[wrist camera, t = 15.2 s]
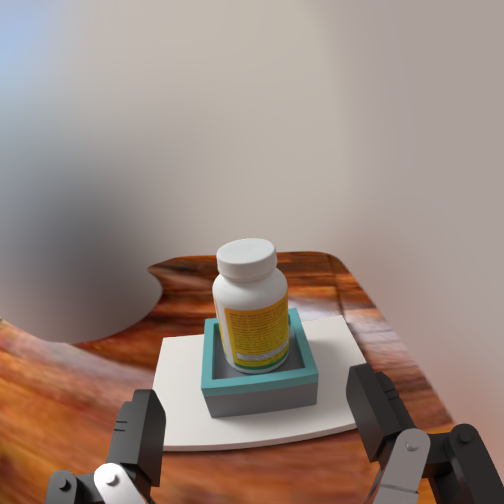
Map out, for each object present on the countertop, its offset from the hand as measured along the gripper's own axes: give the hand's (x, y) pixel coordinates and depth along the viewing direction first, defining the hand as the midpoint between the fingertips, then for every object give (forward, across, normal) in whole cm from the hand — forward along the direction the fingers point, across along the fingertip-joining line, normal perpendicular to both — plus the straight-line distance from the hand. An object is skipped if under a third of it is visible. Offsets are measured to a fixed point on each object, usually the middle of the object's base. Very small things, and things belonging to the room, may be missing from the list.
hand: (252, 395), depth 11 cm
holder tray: (+11, 0, +12) cm, 16 cm away
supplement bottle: (+11, 0, +8) cm, 14 cm away
